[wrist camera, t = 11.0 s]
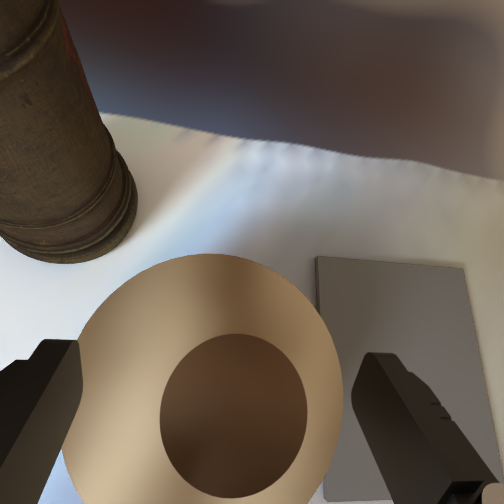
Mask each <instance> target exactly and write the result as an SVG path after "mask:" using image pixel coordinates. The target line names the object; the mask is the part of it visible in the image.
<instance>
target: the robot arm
mask: <svg viewBox="0 0 504 504" xmlns="http://www.w3.org/2000/svg"><path fill="white" fill-rule="evenodd" d="M82 392H83V376H82V366H81V357H80V347H79V343H78V341H77V340H60V339H44V340H42V341H41V342H40V344H39V345H38V346H37V348H36V349H35V351H34V352H33V354H32V355H31V357H30V358H29V359H28V360H15V361H14V362H12V363H11V364H10V365H8V366H7V367H5V368H4V369H3V370H1V371H0V504H37V503H38V501H39V499H40V496H41V494H42V492H43V489H44V487H45V485H46V482H47V480H48V478H49V475H50V473H51V471H52V468H53V466H54V464H55V461H56V459H57V457H58V454H59V452H60V450H61V447H62V445H63V443H64V440H65V438H66V436H67V433H68V431H69V429H70V426H71V424H72V422H73V419H74V417H75V415H76V412H77V410H78V408H79V405H80V401H81V397H82ZM351 403H352V408H353V411H354V413H355V415H356V418H357V420H358V422H359V425H360V427H361V429H362V431H363V434H364V436H365V438H366V441H367V443H368V445H369V447H370V450H371V452H372V454H373V457H374V459H375V461H376V463H377V466H378V468H379V470H380V473H381V475H382V477H383V479H384V482H385V484H386V486H387V489H388V491H389V493H390V495H391V498H392V500H393V502H394V504H504V484H501V483H500V482H499V481H498V480H497V479H496V477H495V476H494V475H493V473H492V472H491V471H490V469H489V468H488V466H487V465H486V464H485V462H484V461H483V460H482V458H481V457H480V455H479V454H478V453H477V451H476V450H475V449H474V447H473V446H472V445H471V443H470V442H469V440H468V439H467V438H466V436H465V435H464V434H463V432H462V431H461V429H460V428H459V427H458V425H457V424H456V423H455V421H452V419H451V416H450V414H449V413H448V412H447V410H446V409H445V408H444V406H441V402H440V401H439V399H438V398H437V397H436V395H435V394H434V393H433V391H432V390H431V388H430V387H429V386H428V385H427V384H426V383H425V382H423V381H422V380H421V379H420V378H419V377H418V376H416V375H415V374H414V373H413V372H408V371H407V369H406V368H405V366H404V365H403V363H402V362H401V360H400V359H399V358H398V356H397V355H396V354H394V353H380V352H368V353H366V354H365V356H364V358H363V360H362V363H361V366H360V368H359V371H358V374H357V376H356V379H355V381H354V384H353V387H352V390H351Z"/></svg>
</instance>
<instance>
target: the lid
mask: <svg viewBox="0 0 504 504" xmlns="http://www.w3.org/2000/svg"><path fill="white" fill-rule="evenodd" d="M77 341H78V343H79V347H80V357H81V366H82V376H83V392H82V397H81V401H80V405H79V408H78V410H77V412H76V415H75V417H74V419H73V422H72V424H71V426H70V429H69V431H68V433H67V436H66V438H65V440H64V443H63V445H62V447H61V449H62V453H63V456H64V460H65V464H66V468H67V471H68V473H69V475H70V478H71V480H72V482H73V484H74V487H75V489H76V491H77V493H78V494H79V496H80V497H81V499H82V501H83V502H84V504H307V503H308V502H309V501H310V499H311V498H312V496H313V495H314V493H315V492H316V490H317V488H318V487H319V485H320V484H321V482H322V480H323V478H324V476H325V474H326V472H327V470H328V468H329V466H330V464H331V461H332V458H333V455H334V452H335V450H336V447H337V443H338V438H339V434H340V430H341V424H342V415H343V382H342V374H341V368H340V364H339V359H338V355H337V352H336V349H335V346H334V343H333V340H332V338H331V335H330V333H329V331H328V329H327V327H326V325H325V323H324V321H323V320H322V318H321V317H320V315H319V314H318V312H317V310H316V309H315V307H314V306H313V305H312V304H311V303H310V301H309V300H308V299H307V298H306V297H305V295H304V294H303V293H302V292H300V291H299V290H298V289H297V288H296V287H295V286H294V285H293V284H292V283H291V282H289V281H288V280H286V279H285V278H284V277H282V276H281V275H280V274H278V273H276V272H274V271H273V270H271V269H269V268H267V267H265V266H263V265H261V264H258V263H256V262H253V261H251V260H247V259H244V258H240V257H236V256H230V255H223V254H198V255H188V256H183V257H179V258H175V259H171V260H168V261H165V262H162V263H160V264H157V265H154V266H152V267H150V268H148V269H146V270H144V271H142V272H140V273H139V274H137V275H136V276H134V277H133V278H131V279H130V280H128V281H127V282H125V283H124V284H123V285H121V286H120V287H119V288H118V289H117V290H116V291H114V292H113V293H112V294H111V295H110V296H109V297H108V298H107V299H106V300H105V301H104V302H103V303H102V304H101V305H100V307H99V308H98V309H97V310H96V311H95V313H94V314H93V315H92V317H91V318H90V320H89V321H88V322H87V324H86V325H85V327H84V329H83V330H82V332H81V334H80V336H79V337H78V339H77Z"/></svg>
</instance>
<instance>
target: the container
mask: <svg viewBox="0 0 504 504" xmlns="http://www.w3.org/2000/svg"><path fill="white" fill-rule="evenodd" d="M136 210H137V190H136V185H135V182H134V179H133V177H132V175H131V173H130V171H129V170H128V167H127V165H126V163H125V161H124V159H123V158H122V156H121V155H120V153H119V152H118V151H117V150H116V148H115V145H114V142H113V139H112V136H111V134H110V133H109V131H108V129H107V128H106V127H105V125H104V124H103V122H102V120H101V117H100V115H99V112H98V110H97V107H96V104H95V101H94V99H93V96H92V93H91V91H90V87H89V85H88V83H87V79H86V76H85V74H84V70H83V67H82V64H81V61H80V59H79V56H78V53H77V51H76V48H75V45H74V43H73V41H72V38H71V35H70V33H69V30H68V27H67V25H66V22H65V19H64V16H63V13H62V11H61V8H60V5H59V0H0V236H1V237H2V238H3V239H4V240H5V241H6V242H7V243H8V244H9V245H10V246H12V247H13V248H14V249H16V250H17V251H19V252H20V253H22V254H24V255H26V256H28V257H31V258H33V259H36V260H40V261H44V262H49V263H58V264H73V263H81V262H86V261H90V260H93V259H96V258H98V257H100V256H102V255H104V254H106V253H108V252H109V251H111V250H112V249H113V248H115V247H116V246H117V245H118V244H119V243H120V242H121V241H122V239H123V238H124V237H125V236H126V234H127V233H128V231H129V230H130V228H131V226H132V224H133V221H134V219H135V215H136Z"/></svg>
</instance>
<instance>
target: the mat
mask: <svg viewBox="0 0 504 504" xmlns="http://www.w3.org/2000/svg"><path fill="white" fill-rule="evenodd" d="M315 270H316V297H317V312H318V314H319V315H320V317H321V318H322V320H323V321H324V323H325V325H326V327H327V329H328V331H329V333H330V335H331V338H332V340H333V343H334V346H335V349H336V352H337V355H338V359H339V364H340V368H341V374H342V382H343V415H342V424H341V430H340V434H339V438H338V443H337V447H336V450H335V452H334V455H333V458H332V461H331V464H330V466H329V468H328V470H327V472H326V474H325V476H324V478H323V487H324V499H325V500H326V501H327V502H343V501H371V500H392V498H391V495H390V493H389V491H388V489H387V486H386V484H385V482H384V479H383V477H382V475H381V473H380V470H379V468H378V466H377V463H376V461H375V459H374V457H373V454H372V452H371V450H370V447H369V445H368V443H367V441H366V438H365V436H364V434H363V431H362V429H361V427H360V425H359V422H358V420H357V418H356V415H355V413H354V411H353V408H352V403H351V390H352V387H353V384H354V381H355V379H356V376H357V374H358V371H359V368H360V366H361V363H362V360H363V358H364V356H365V354H366V353H368V352H380V353H394V354H396V355H397V356H398V358H399V359H400V360H401V362H402V363H403V365H404V366H405V368H406V369H407V371H408V372H413V373H414V374H415V375H416V376H418V377H419V378H420V379H421V380H422V381H423V382H425V383H426V384H427V385H428V386H429V387H430V388H431V390H432V391H433V393H434V394H435V395H436V397H437V398H438V399H439V401H440V402H441V406H444V408H445V409H446V410H447V412H448V413H449V414H450V416H451V419H452V421H455V423H456V424H457V425H458V427H459V428H460V429H461V431H462V432H463V434H464V435H465V436H466V438H467V439H468V440H469V442H470V443H471V445H472V446H473V447H474V449H475V450H476V451H477V453H478V454H479V455H480V457H481V458H482V460H483V461H484V462H485V464H486V465H487V466H488V468H489V469H490V471H491V472H492V473H493V475H494V476H495V477H496V479H497V480H498V481H499V482H500V483H501V484H504V477H503V472H502V467H501V461H500V456H499V451H498V446H497V441H496V436H495V430H494V425H493V420H492V415H491V410H490V405H489V399H488V394H487V389H486V384H485V379H484V374H483V368H482V363H481V358H480V353H479V348H478V343H477V337H476V332H475V327H474V322H473V317H472V312H471V306H470V301H469V296H468V291H467V286H466V281H465V275H464V270H463V269H461V268H450V267H438V266H427V265H415V264H404V263H393V262H381V261H370V260H358V259H347V258H336V257H324V256H317V257H316V258H315Z"/></svg>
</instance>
